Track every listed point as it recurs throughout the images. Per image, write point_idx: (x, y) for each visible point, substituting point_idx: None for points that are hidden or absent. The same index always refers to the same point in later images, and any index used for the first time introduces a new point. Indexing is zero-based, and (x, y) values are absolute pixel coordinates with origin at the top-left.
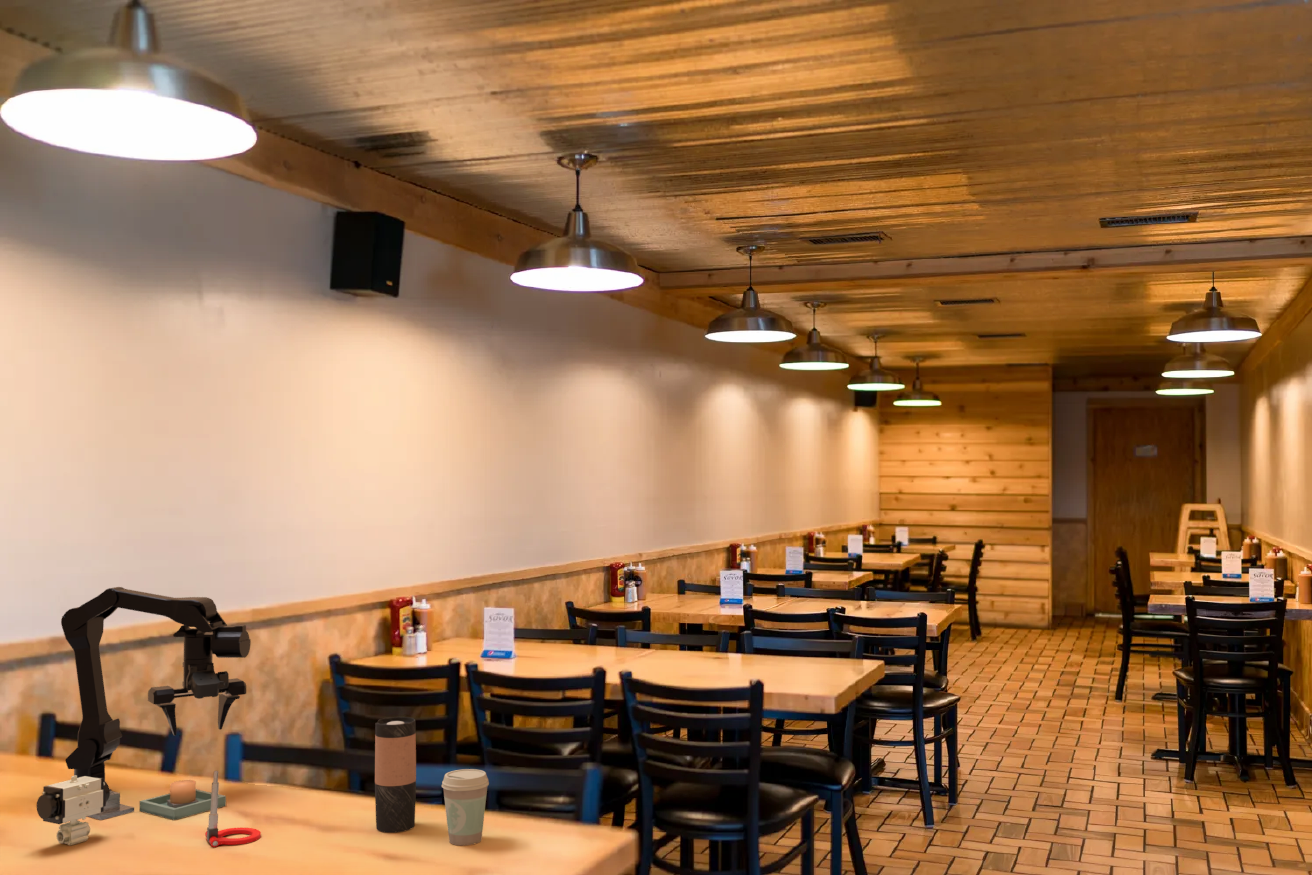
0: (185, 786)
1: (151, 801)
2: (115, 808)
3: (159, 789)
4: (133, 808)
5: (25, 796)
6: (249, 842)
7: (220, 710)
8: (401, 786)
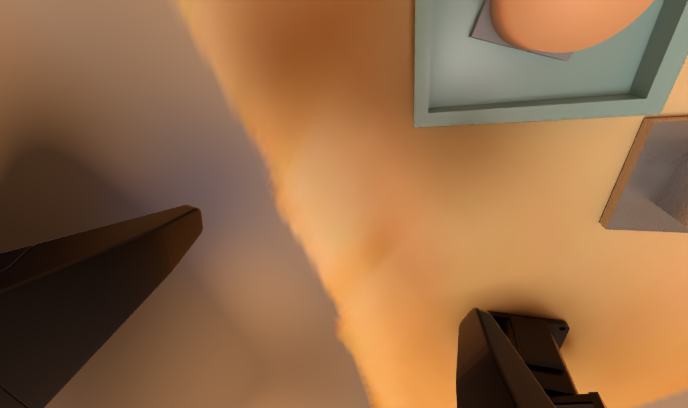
0: None
1: (606, 99)
2: None
3: (409, 252)
4: (655, 120)
5: None
6: None
7: (63, 323)
8: None
